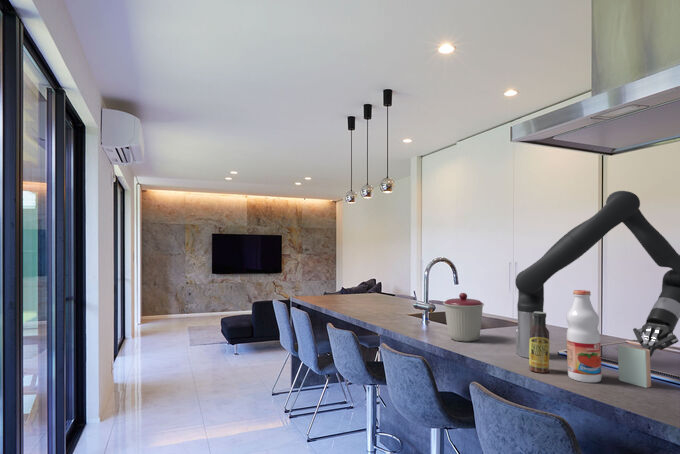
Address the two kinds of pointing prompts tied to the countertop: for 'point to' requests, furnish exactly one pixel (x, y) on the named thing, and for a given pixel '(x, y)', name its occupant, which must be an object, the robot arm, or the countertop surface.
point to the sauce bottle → (539, 344)
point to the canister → (463, 318)
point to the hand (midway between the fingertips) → (644, 356)
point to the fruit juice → (583, 340)
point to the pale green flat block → (634, 365)
